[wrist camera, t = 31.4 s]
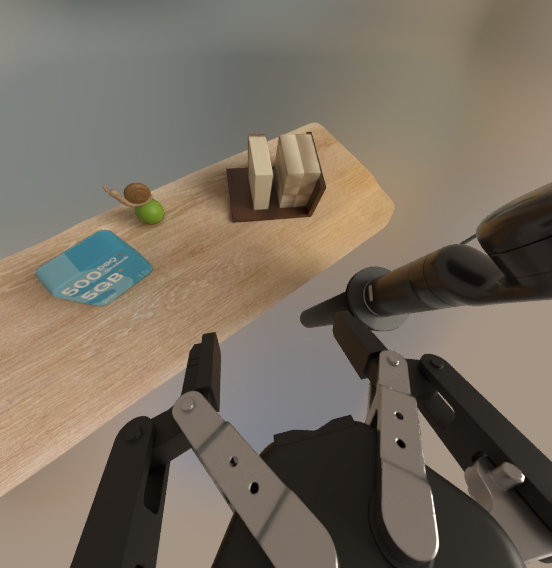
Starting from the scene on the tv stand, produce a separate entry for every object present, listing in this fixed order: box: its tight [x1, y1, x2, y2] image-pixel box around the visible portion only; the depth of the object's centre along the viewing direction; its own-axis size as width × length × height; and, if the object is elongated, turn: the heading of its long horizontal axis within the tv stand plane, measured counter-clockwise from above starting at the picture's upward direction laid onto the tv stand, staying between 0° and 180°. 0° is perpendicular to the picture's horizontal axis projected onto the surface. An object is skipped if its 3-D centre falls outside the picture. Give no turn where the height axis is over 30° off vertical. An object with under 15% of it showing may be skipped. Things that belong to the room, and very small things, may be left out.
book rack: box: [226, 132, 326, 223], centre depth 46 cm, size 20×15×12 cm
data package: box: [35, 230, 152, 306], centre depth 36 cm, size 12×4×12 cm, turn 135°
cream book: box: [248, 134, 273, 210], centre depth 45 cm, size 4×10×11 cm, turn 10°
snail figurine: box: [103, 183, 164, 224], centre depth 40 cm, size 5×6×12 cm
